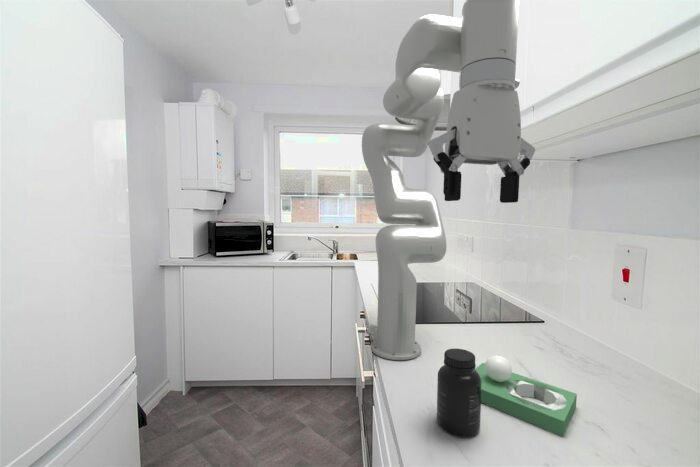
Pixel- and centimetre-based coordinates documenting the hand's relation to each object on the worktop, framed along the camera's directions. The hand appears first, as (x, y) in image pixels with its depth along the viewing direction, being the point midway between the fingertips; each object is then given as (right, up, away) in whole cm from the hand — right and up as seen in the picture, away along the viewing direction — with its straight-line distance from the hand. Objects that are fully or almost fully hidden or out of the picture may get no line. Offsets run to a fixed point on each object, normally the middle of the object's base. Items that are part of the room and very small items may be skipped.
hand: (481, 201), depth 48 cm
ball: (+9, -31, +15) cm, 35 cm away
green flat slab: (+11, -36, +13) cm, 40 cm away
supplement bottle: (-2, -37, +5) cm, 37 cm away
